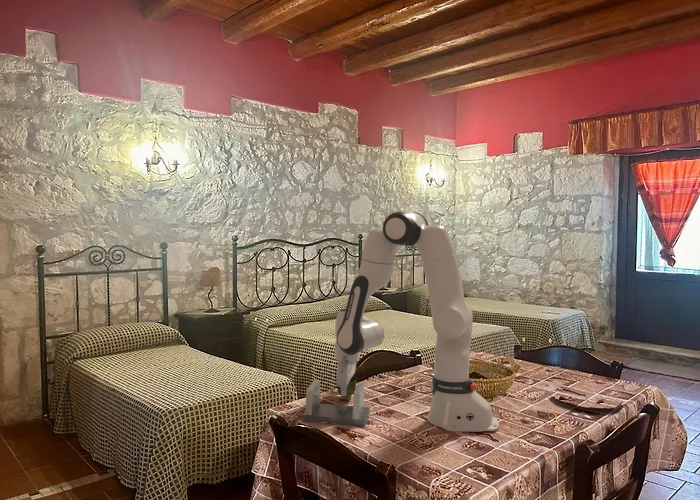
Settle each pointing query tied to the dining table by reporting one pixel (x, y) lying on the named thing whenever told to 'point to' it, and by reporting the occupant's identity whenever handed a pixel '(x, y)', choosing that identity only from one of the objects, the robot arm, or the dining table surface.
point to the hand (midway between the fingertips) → (345, 392)
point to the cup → (348, 389)
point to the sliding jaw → (312, 397)
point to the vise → (342, 411)
